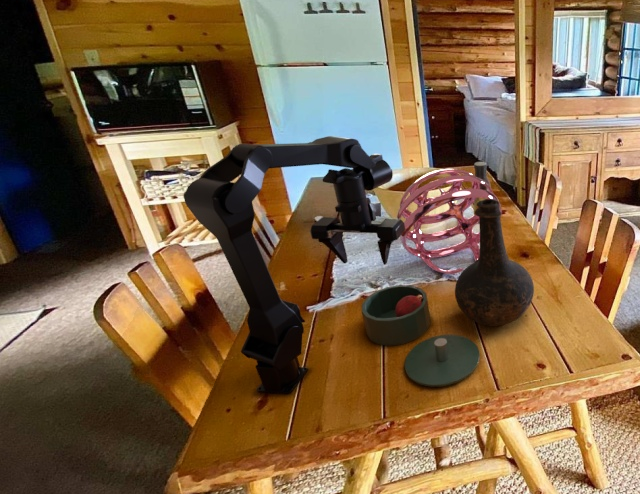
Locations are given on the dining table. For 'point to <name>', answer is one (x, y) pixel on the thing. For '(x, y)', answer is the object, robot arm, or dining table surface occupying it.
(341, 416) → the dining table surface
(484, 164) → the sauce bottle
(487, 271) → the glass bottle
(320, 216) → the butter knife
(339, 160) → the robot arm
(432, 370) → the tin lid
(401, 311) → the onion
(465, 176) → the pink openwork sphere
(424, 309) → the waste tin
